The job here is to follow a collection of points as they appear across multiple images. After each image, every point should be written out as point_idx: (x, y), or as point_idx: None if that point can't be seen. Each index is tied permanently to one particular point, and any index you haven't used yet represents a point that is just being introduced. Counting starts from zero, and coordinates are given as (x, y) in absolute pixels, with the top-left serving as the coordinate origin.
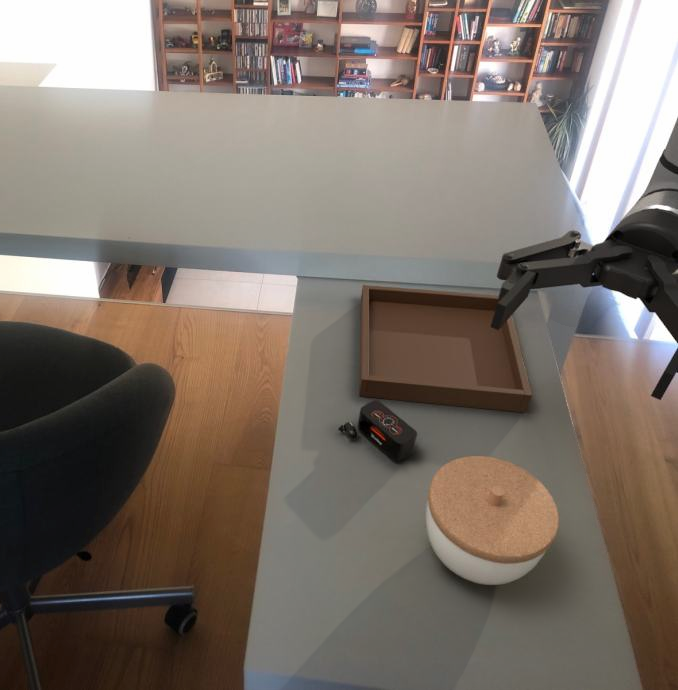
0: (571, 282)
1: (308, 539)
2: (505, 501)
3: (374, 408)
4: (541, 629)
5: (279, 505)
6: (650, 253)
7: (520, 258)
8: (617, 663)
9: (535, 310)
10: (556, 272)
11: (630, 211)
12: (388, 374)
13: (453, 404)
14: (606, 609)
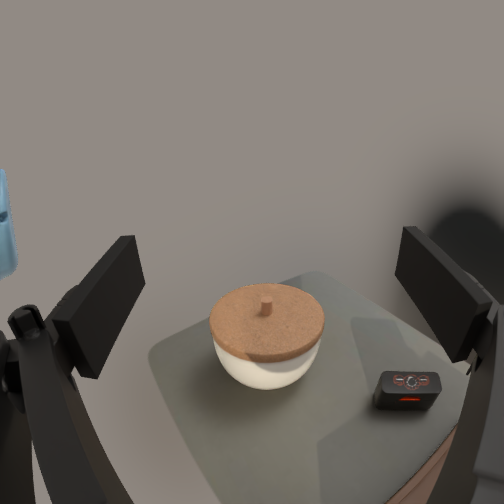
0: (443, 471)
1: (358, 313)
2: (258, 316)
3: (432, 383)
4: (200, 349)
5: (390, 316)
6: None
7: None
8: (151, 354)
9: None
10: (483, 389)
11: None
12: None
13: (398, 490)
14: (162, 382)
